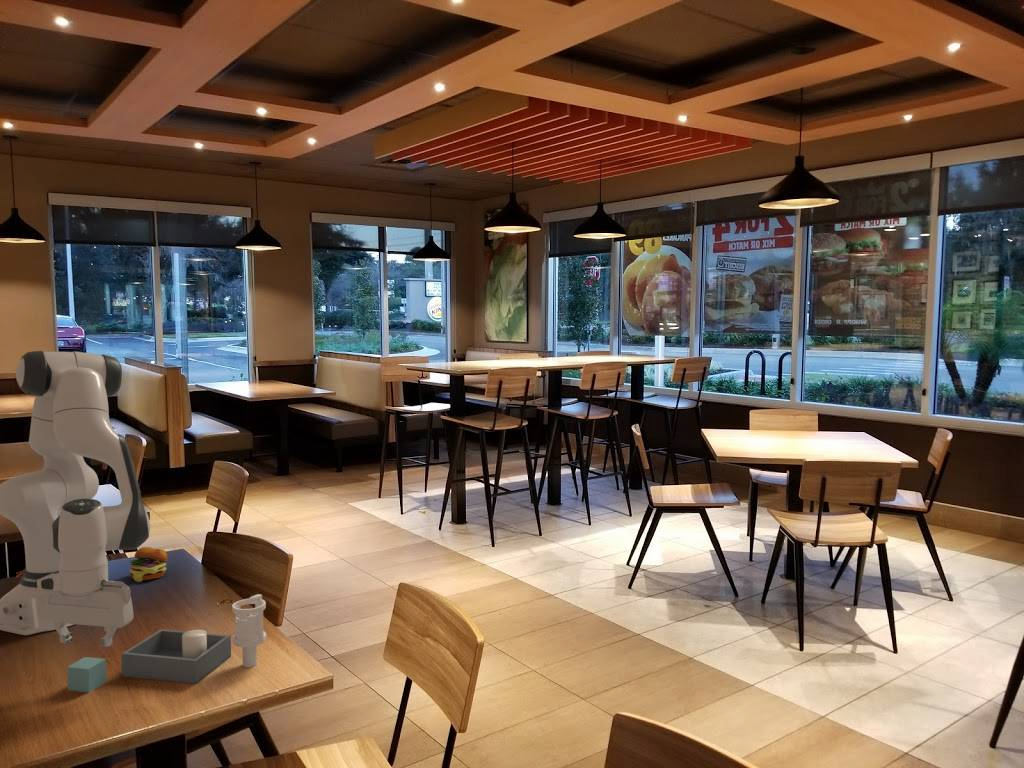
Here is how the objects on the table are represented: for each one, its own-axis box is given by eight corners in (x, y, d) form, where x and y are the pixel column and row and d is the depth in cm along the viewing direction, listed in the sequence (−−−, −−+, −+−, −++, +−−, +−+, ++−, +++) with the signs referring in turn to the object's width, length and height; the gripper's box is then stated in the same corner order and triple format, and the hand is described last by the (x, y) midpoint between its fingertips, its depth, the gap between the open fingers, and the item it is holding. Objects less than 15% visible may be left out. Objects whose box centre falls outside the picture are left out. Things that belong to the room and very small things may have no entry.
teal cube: (67, 690, 159) (67, 667, 158) (85, 679, 164) (84, 656, 163) (89, 692, 158) (88, 669, 158) (106, 681, 163) (105, 659, 162)
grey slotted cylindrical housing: (273, 661, 173) (272, 596, 172) (250, 673, 167) (249, 606, 166) (249, 655, 176) (248, 591, 175) (226, 667, 170) (225, 601, 169)
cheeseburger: (119, 581, 225) (123, 546, 227) (142, 578, 236) (146, 545, 237) (151, 583, 223) (155, 548, 225) (172, 580, 234) (176, 546, 236)
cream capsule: (177, 668, 168) (177, 637, 167) (191, 659, 173) (190, 628, 172) (198, 670, 167) (198, 639, 166) (211, 660, 172) (211, 630, 171)
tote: (122, 676, 165) (121, 653, 165) (161, 650, 179) (160, 629, 178) (196, 683, 162) (196, 660, 162) (231, 656, 176) (230, 635, 175)
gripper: (139, 577, 160) (141, 641, 161) (52, 571, 164) (55, 633, 165) (118, 587, 154) (120, 654, 155) (29, 580, 158) (32, 645, 159)
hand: (86, 643), depth 160 cm, fingers open, 8 cm apart
